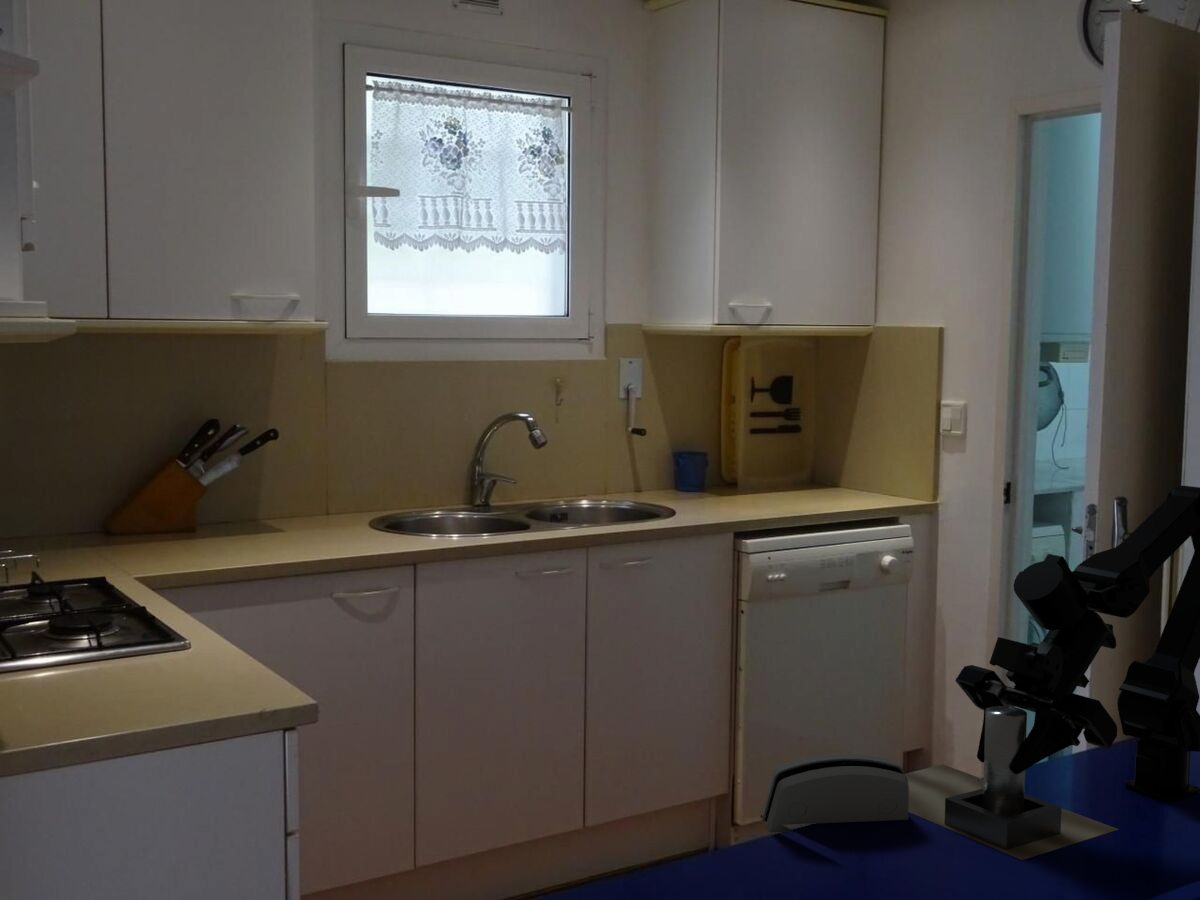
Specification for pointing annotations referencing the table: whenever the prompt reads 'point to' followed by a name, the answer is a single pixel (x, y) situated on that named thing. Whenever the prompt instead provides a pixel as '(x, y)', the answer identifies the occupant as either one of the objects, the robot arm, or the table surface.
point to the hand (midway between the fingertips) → (996, 765)
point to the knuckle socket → (1003, 820)
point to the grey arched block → (836, 791)
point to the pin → (1003, 760)
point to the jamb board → (947, 782)
